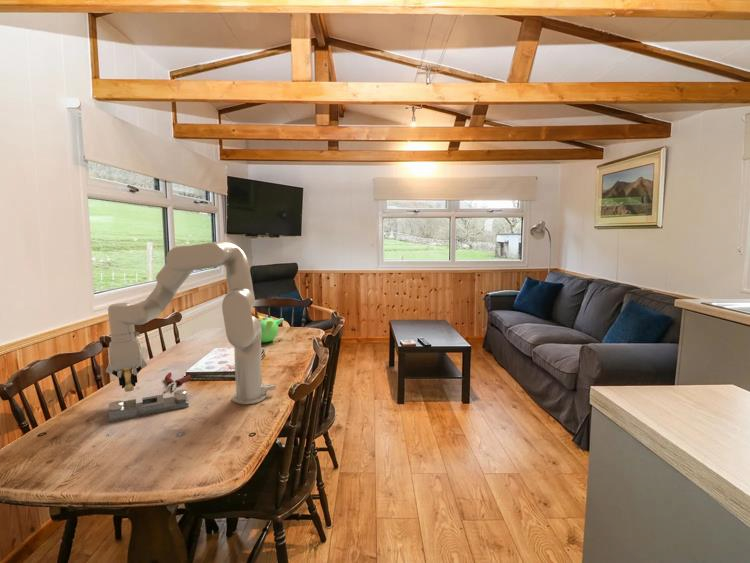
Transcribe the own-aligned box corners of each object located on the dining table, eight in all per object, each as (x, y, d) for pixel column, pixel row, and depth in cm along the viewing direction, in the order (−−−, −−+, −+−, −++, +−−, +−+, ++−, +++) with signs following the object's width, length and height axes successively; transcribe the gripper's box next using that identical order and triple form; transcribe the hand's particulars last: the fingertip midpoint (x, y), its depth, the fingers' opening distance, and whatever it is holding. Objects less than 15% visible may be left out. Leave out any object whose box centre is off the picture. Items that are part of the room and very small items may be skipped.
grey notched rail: (186, 398, 157) (186, 386, 156) (189, 406, 150) (188, 394, 149) (110, 412, 145) (109, 400, 145) (108, 422, 138) (107, 409, 137)
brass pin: (135, 387, 156) (133, 363, 155) (135, 390, 152) (132, 367, 151) (123, 389, 154) (120, 366, 153) (122, 393, 150) (120, 369, 149)
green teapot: (257, 337, 244) (256, 312, 242) (285, 338, 242) (284, 313, 240) (243, 345, 227) (242, 319, 225) (273, 346, 224) (272, 320, 222)
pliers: (152, 395, 161) (152, 389, 160) (168, 377, 180) (167, 371, 180) (184, 393, 163) (184, 387, 163) (196, 375, 183) (196, 370, 182)
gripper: (148, 331, 158) (153, 378, 160) (97, 338, 150) (103, 387, 152) (149, 336, 151) (154, 384, 153) (95, 343, 143) (101, 394, 146)
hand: (128, 385), depth 153 cm, fingers closed on brass pin, 3 cm apart
